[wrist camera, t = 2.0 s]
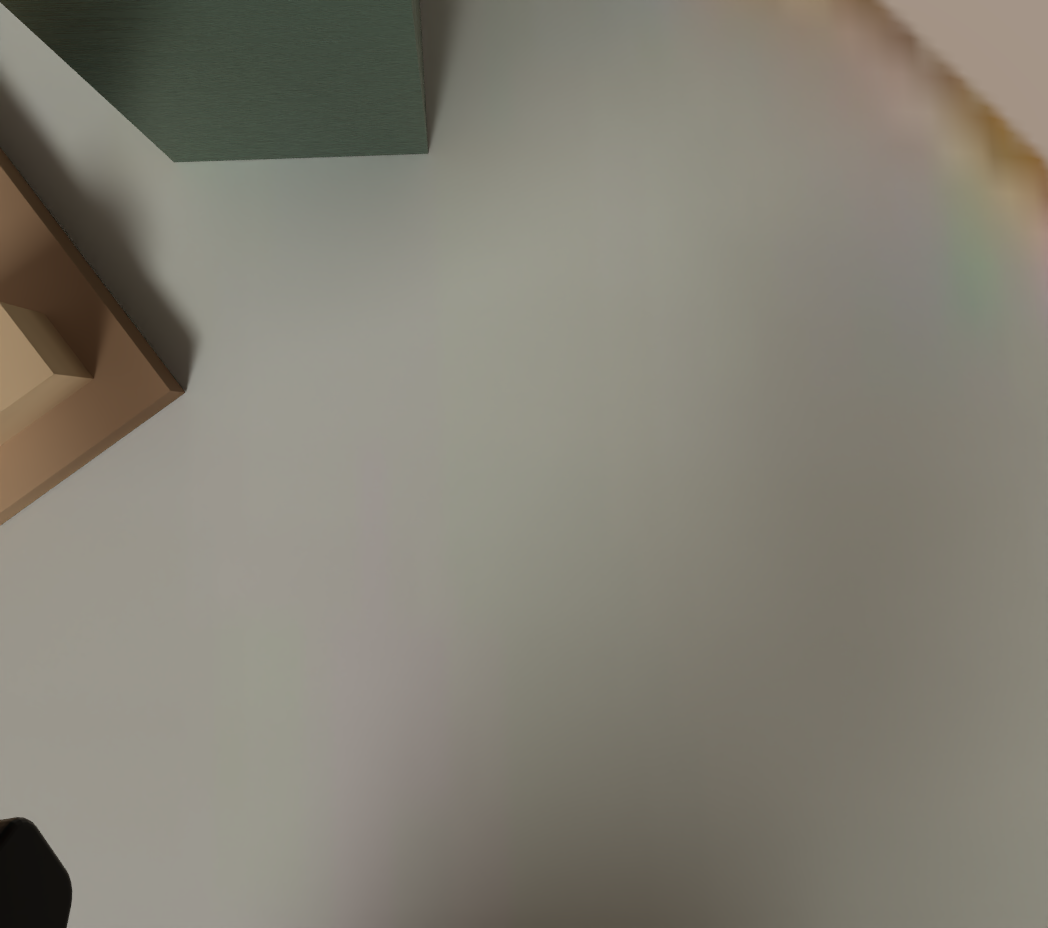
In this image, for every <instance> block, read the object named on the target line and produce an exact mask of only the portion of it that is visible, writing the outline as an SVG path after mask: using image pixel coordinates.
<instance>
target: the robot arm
mask: <svg viewBox="0 0 1048 928" xmlns="http://www.w3.org/2000/svg"><path fill="white" fill-rule="evenodd" d="M71 902H72V886H71V881H70V877H69V874H68V872H67V871H66V869H65V868H64V866H63V865H62V863H61V862H60V860H59V859H58V857H57V856H56V854H55V853H54V852H53V850H52V849H51V847H50V846H49V844H48V843H47V841H46V840H45V838H44V837H43V836H42V834H41V833H40V831H39V830H38V828H37V827H36V826H35V825H34V823H33V822H31V821H30V820H28V819H26V818H21V817H15V818H9V819H3V820H0V928H67V923H68V918H69V913H70V908H71Z"/></svg>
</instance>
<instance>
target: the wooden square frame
mask: <svg viewBox="0 0 1048 928" xmlns="http://www.w3.org/2000/svg"><path fill="white" fill-rule="evenodd" d="M184 393H185V392H184V390H183V389H182V388H181V386H180V385H179V384H178V382H177V381H176V380H175V378H174V377H173V376H172V374H171V373H170V372H169V370H168V369H167V368H166V366H165V365H164V364H163V363H162V361H161V360H160V359H159V357H158V356H157V355H156V353H155V352H154V351H153V349H152V348H151V347H150V345H149V344H148V343H147V341H146V340H145V339H144V337H143V336H142V335H141V333H140V332H139V331H138V329H137V328H136V327H135V325H134V324H133V323H132V321H131V320H130V319H129V317H128V316H127V315H126V313H125V312H124V311H123V309H122V308H121V307H120V305H119V304H118V303H117V302H116V300H115V299H114V298H113V296H112V295H111V294H110V292H109V291H108V290H107V288H106V287H105V286H104V284H103V283H102V282H101V280H100V279H99V278H98V276H97V275H96V274H95V272H94V271H93V270H92V268H91V267H90V266H89V264H88V263H87V262H86V260H85V259H84V258H83V256H82V255H81V254H80V252H79V251H78V250H77V248H76V247H75V246H74V244H73V243H72V242H71V241H70V239H69V238H68V237H67V235H66V234H65V233H64V231H63V230H62V229H61V227H60V226H59V225H58V223H57V222H56V221H55V219H54V218H53V217H52V215H51V214H50V213H49V211H48V210H47V209H46V207H45V206H44V205H43V203H42V202H41V201H40V199H39V198H38V197H37V195H36V194H35V193H34V191H33V190H32V189H31V187H30V186H29V185H28V183H27V182H26V181H25V180H24V178H23V177H22V176H21V174H20V173H19V172H18V170H17V169H16V168H15V166H14V165H13V164H12V162H11V161H10V160H9V158H8V157H7V156H6V154H5V153H4V152H3V150H2V149H1V148H0V525H2V524H3V523H4V522H6V521H7V520H9V519H10V518H11V517H13V516H14V515H16V514H17V513H18V512H20V511H21V510H22V509H24V508H25V507H27V506H28V505H29V504H31V503H32V502H34V501H35V500H36V499H38V498H39V497H41V496H42V495H43V494H45V493H46V492H48V491H49V490H50V489H52V488H53V487H55V486H56V485H57V484H59V483H60V482H61V481H63V480H64V479H66V478H67V477H68V476H70V475H71V474H73V473H74V472H75V471H77V470H78V469H80V468H81V467H82V466H84V465H85V464H87V463H88V462H89V461H91V460H92V459H94V458H95V457H96V456H98V455H99V454H100V453H102V452H103V451H105V450H106V449H107V448H109V447H110V446H112V445H113V444H114V443H116V442H117V441H119V440H120V439H121V438H123V437H124V436H126V435H127V434H128V433H130V432H131V431H132V430H134V429H135V428H137V427H138V426H139V425H141V424H142V423H144V422H145V421H146V420H148V419H149V418H151V417H152V416H153V415H155V414H156V413H158V412H159V411H160V410H162V409H163V408H165V407H166V406H167V405H169V404H170V403H171V402H173V401H174V400H176V399H177V398H178V397H180V396H181V395H183V394H184Z"/></svg>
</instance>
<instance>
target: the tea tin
mask: <svg viewBox="0 0 1048 928" xmlns="http://www.w3.org/2000/svg"><path fill="white" fill-rule="evenodd" d="M0 2H1V3H2V4H3V5H4V6H5V7H6V8H7V9H8V10H9V11H10V12H12V13H13V14H14V15H15V16H16V17H17V18H18V19H19V20H20V21H21V22H22V23H24V24H25V25H26V26H27V27H28V28H29V29H30V30H31V31H32V32H33V33H34V34H35V35H37V36H38V37H39V38H40V39H41V40H42V41H43V42H44V43H45V44H46V45H47V46H49V47H50V48H51V49H52V50H53V51H54V52H55V53H56V54H57V55H58V56H59V57H60V58H62V59H63V60H64V61H65V62H66V63H67V64H68V65H69V66H70V67H71V68H72V69H74V70H75V71H76V72H77V73H78V74H79V75H80V76H81V77H82V78H83V79H84V80H85V81H87V82H88V83H89V84H90V85H91V86H92V87H93V88H94V89H95V90H96V91H97V92H98V93H100V94H101V95H102V96H103V97H104V98H105V99H106V100H107V101H108V102H109V103H110V104H112V105H113V106H114V107H115V108H116V109H117V110H118V111H119V112H120V113H121V114H122V115H123V116H125V117H126V118H127V119H128V120H129V121H130V122H131V123H132V124H133V125H134V126H135V127H137V128H138V129H139V130H140V131H141V132H142V133H143V134H144V135H145V136H146V137H147V138H148V139H150V140H151V141H152V142H153V143H154V144H155V145H156V146H157V147H158V148H159V149H160V150H162V151H163V152H164V153H165V154H166V155H167V156H168V157H169V158H170V159H171V160H172V161H173V162H193V161H223V160H252V159H282V158H311V157H341V156H370V155H400V154H428V141H427V123H426V105H425V87H424V69H423V52H422V34H421V16H420V0H0Z"/></svg>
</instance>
